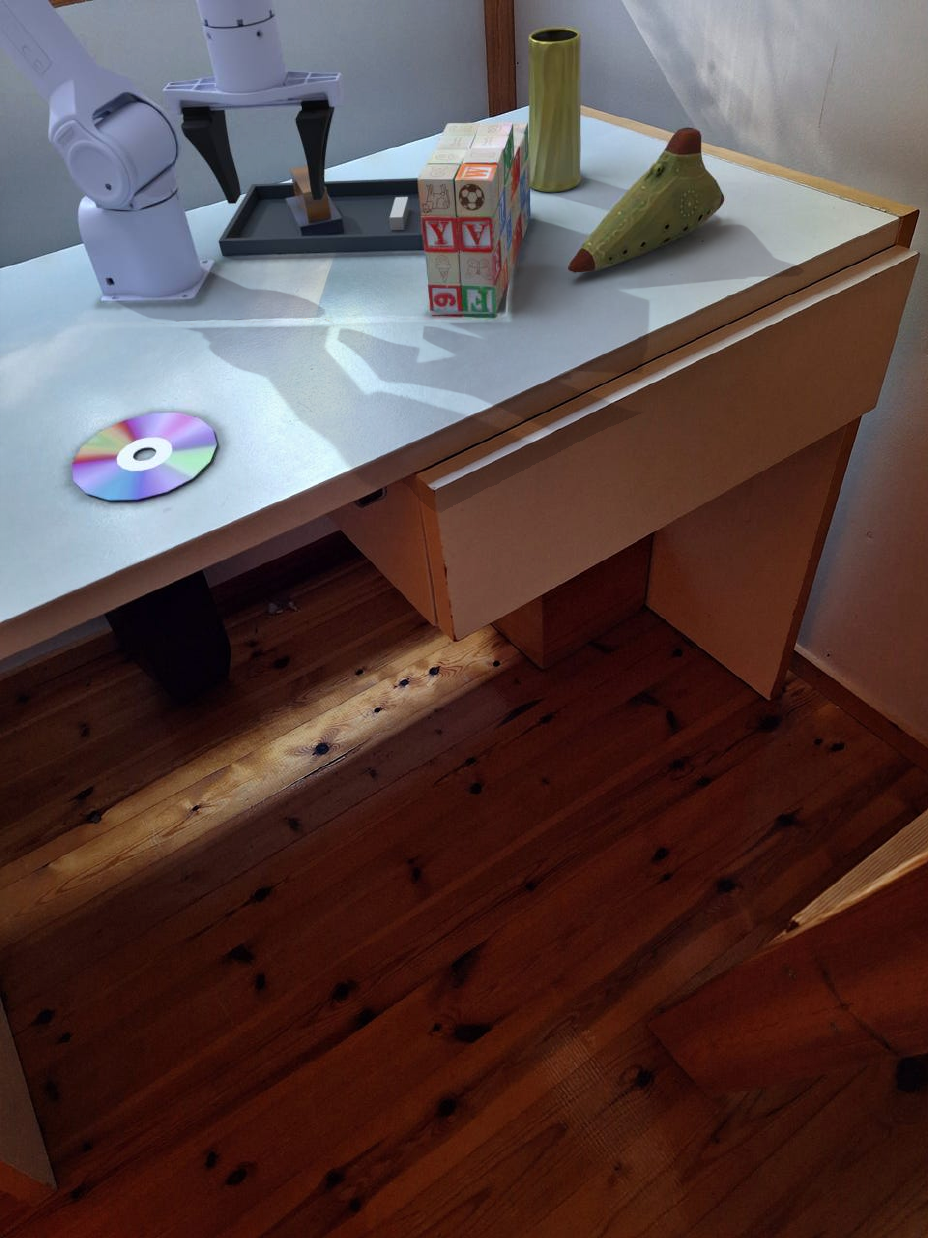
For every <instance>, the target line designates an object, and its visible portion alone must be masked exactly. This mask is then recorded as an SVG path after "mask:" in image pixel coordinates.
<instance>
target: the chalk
mask: <svg viewBox="0 0 928 1238" xmlns="http://www.w3.org/2000/svg"><path fill="white" fill-rule="evenodd" d="M409 210H410V209H409V200H408V197H395V201H394V204H393V207H392V211H391V214H390V226H391V230H392V231H393V230H404V229H405V225H406V221H407V217H408V213H409Z"/></svg>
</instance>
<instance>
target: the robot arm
mask: <svg viewBox="0 0 928 1238" xmlns="http://www.w3.org/2000/svg"><path fill="white" fill-rule="evenodd" d="M195 2H196V6H197V10H198V15H199V18H200V22H201V27H202V31H203V35H204V39H205V43H206V48H207V52H208V56H209V60H210V63H211V64H210V65H211V68H212V73H213V76H207V77H202V78H196V79H189V80H182V81H170V82H168V83H167V85H166V86H165V87H164V88H163V89H162V94H163V97H164V100H165V103H166V107H167V111H168V112H167V111H166V110H165V109H164V108H163V107H162V106H160V105H159V104H158V103H156V102H155V101H153V100H151V99H150V98H148V97H147V96H146V95H145V94H144V93H142V92H141V90H140V89H139V88H138V87H137V85H136V84H135V82H134V81H132V79H131V78H130V77H128V76H126V75H123V74H121V73H119V72H116V71H114V70H111V69H108V68H106V67H104V66H102V65H99V63H98V62H97V61H96V60H95V58H94V57H93V56H92V55H91V53H90V52H89V51H88V50H87V48H86V47H85V46H84V45H83V43H82V42H81V41H80V39H79V38H78V37H77V35H76V34H75V33H74V32H73V30H72V29H71V28H70V27H69V25H68V24H67V23H66V21H65V20H64V19H63V17H61V15H60V14H59V13H58V11H57V10H56V9H55V7H54V6H53V5H52V3H51V2H50V1H49V0H0V48H1V49H2V51H4V52H5V54H6V55H7V56H8V58H10V60H11V61H12V62H13V64H14V65H15V66H16V67H17V69H18V70H19V71H20V72H21V73H22V75H23V76H24V77H25V78H26V79H27V80H28V82H29V83H30V84H31V85H32V86H33V88H34V89H35V90H36V91H37V93H38V94H39V95H40V96H41V97H42V99H43V100H44V101H45V102H46V103H47V104H48V106H49V119H48V121H49V122H48V132H47V133H48V141H49V143H50V144H51V145H52V146H53V147H54V148H55V150H56V151H57V152H58V154H60V156H61V158H62V159H63V161H64V163H65V166H66V168H67V170H68V172H69V175H70V177H71V179H72V181H73V183H74V184H75V185H76V187H77V188H78V189H79V190H80V191H81V193H82V194H83V195H84V196H83V198H82V199H81V200H80V203H79V205H78V210H77V221H78V227H79V228H78V229H79V233H80V237H81V241H82V244H83V245H84V248H85V251H86V253H87V256H88V259H89V261H90V264H91V267H92V270H93V272H94V275H95V277H96V280H97V283H98V285H99V288H100V290H101V293H102V295H103V296H102V297H101V298H100V301H101V302H121V301H124V302H125V301H160V300H161V301H164V300H191V299H194V298H195V297H197V294H198V292H199V291H200V289H201V287H202V285H203V284H204V282H205V280H206V278H207V277H208V275H209V273H210V271H211V270H212V268H213V266H214V265H215V262H216V261H215V260H214V259H203V260H202V259H201V260H200V259H199V256H198V252H197V249H196V245H195V242H194V238H193V234H192V231H191V228H190V225H189V221H188V217H187V214H186V212H185V211H186V210H185V208H184V207H185V206H184V203H183V201H182V197H181V193H180V190H179V186H178V183H177V180H178V179H179V177H178V173H177V169H176V166H175V165H176V164H177V163H178V161H179V159H180V156H181V154H182V141H181V136H180V133H179V130H178V127H177V126H176V124H175V122H174V120H173V119H172V117H171V116H181V115H182V120H183V122H182V123H181V124H180V127H181V128H180V130H181V131H182V134H183V136H184V137H185V138H186V140H188V141H189V143H190V144H191V145H192V146H193V147H194V149H196V151H197V152H198V153H199V154H200V156H201V157H202V159H203V160H204V161H205V164H207V165H208V167H209V169H210V170H211V172H212V174H213V175H214V177H215V179H216V181H217V183H218V184H219V186H220V188H221V191H222V192H223V194H224V197H225V200H226V201H227V203H228V205H233V204H237V202H238V201H239V199H240V197H241V195H242V192H241V185H240V179H239V176H238V172H237V168H236V165H235V162H234V157H233V154H232V150H231V144H230V139H229V133H228V132H229V131H228V126H227V118H226V111H228V110H247V109H264V108H265V109H267V108H285V107H301V109H300V110H299V111H298V113H297V115H296V117H295V118H294V121H295V126H296V129H297V131H298V135H299V137H300V141H301V145H302V149H303V152H304V156H305V161H306V166H308V173H309V180H310V188H311V192H312V196H313V200H321V199H322V197H323V195H324V192H325V168H326V155H327V154H326V153H327V146H328V142H329V141H328V140H329V134H330V131H331V130H330V128H331V125H332V120H333V115H334V112H335V108H339V107H342V106H343V104H344V102H345V100H346V94H345V87H344V86H345V85H344V80H343V75H342V74H343V73H342V72H314V71H299V70H287V69H286V65H285V64H286V63H285V60H284V54H283V49H282V44H281V39H280V33H279V27H278V21H277V17H276V11H275V6H274V5H275V4H274V0H195ZM99 119H101V120H99ZM95 120H99V121H97V122H96V123H95V124H94V121H95Z"/></svg>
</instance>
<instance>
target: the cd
mask: <svg viewBox="0 0 928 1238" xmlns="http://www.w3.org/2000/svg"><path fill="white" fill-rule="evenodd" d="M217 447H218V443H217V439H216V435H215V431H214V428H212V426H210V425H209V424H207V423H206V422H205V421H204V420H202V419H201V418H200V417H196V416H192V415H188V414H184V413H180V412H160V413H159V412H153V413H151V412H150V413H148V414H143V415H140V416H135V417H132V418H127V419H124V420H122V421H121V420H120V422H117V423H115V424H113V425H111V426H109V427H107V428H105V429H103V430H101V431H99V432H98V433H97V434H95V435H94V436H92V438H91V439H89V440H88V441H87V442H85V443H84V444H83V445H82V446H81V447H80V449H79V451H78V453H77V454H76V456H75V458H74V459H73V461H72V463H71V470H72V471H71V472H72V481H73V483H75V484H76V486H78V487H79V489H81V490H82V491H83V492H84V493H85V494H86V495H90V496H92V497H96V498H99V499H102V500H106V501H138V500H142V499H147V498H150V497H153V496H154V497H155V496H159V495H162V494H166V493H168V492H171V491H172V490H174V489H176V488H178V487H180V486H182V485H183V484H185V483H187V482H189V481H191V480H194V478H195V477H196V476H197V475H199V473H201V472H202V470H204V468H206V467H207V466H208V465H209V464H210V462H211V461H212V458H213V456H214V453H215V451H216V448H217ZM144 449H154V450H155V454H154V455H153V456H152V457H150V458H148V459H145V460H137V459H135V458H134V456H135V454H136V453H137V452H138V451H141V450H144Z"/></svg>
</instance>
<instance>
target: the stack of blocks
mask: <svg viewBox="0 0 928 1238" xmlns="http://www.w3.org/2000/svg"><path fill="white" fill-rule="evenodd" d="M528 141H529V121H498V122H464V123H463V122H459V123H458V122H448V123H447V124H446V125H445V127H444V130H443V132H442V133H441V136H440V139H439V141H438V142H437V144H436V146H435V149H434V150H433V151H432V152H431V154H430V156H429V158H428V160H427V162H426V164H425V165H424V166H423V168H422V170H421V171H420V173H419V175H418V177H417V178H418V190H419V200H420V209H421V215H422V216H421V223H422V234H423V242H424V250H423V251H424V257H425V265H426V276H427V292H428V299H429V311H455V312H482V313H449V314H448V313H446V314H443V313H442V314H431V316H433V317H458V318H462V317H466V318H484V319H485V318H486V319H487V318H488V319H489V318H490V319H491V318H492V319H496V318H497V317H498V312H497V311H498V308H499V307H500V304H501V300H502V297H504V290H505V289H506V288H508V287H509V284H510V282H511V279H512V276H513V272H514V266H515V263H516V260H517V257H518V253H519V249H520V246H521V244H522V241H523V240H524V237H525V235H526V232H527V229H528V225H529V222H530V218H531V213H532V212H531V187H530V155H528V151H529V150H528ZM483 312H485V313H483Z"/></svg>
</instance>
